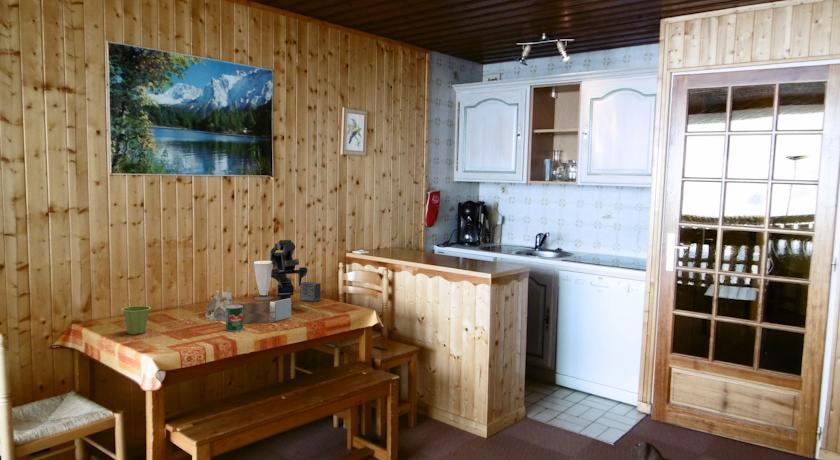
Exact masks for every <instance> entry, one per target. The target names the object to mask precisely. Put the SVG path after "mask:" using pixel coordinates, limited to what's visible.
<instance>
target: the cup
mask: <svg viewBox="0 0 840 460" xmlns="http://www.w3.org/2000/svg"><path fill="white" fill-rule="evenodd" d="M253 265H254V267H253V268H254V275H255V280H256V286H257V289H258V294H259V296H255V297H253V299H254V300H256V301H270V300H273V299H274V298H275V297H274V296H271V295H268V294H269V290H270V286H271V281H272V278H271V270H272V269H273V267H274V265H273V264H272V262H271V261H270V260H257V261H254V262H253Z"/></svg>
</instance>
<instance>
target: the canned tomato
mask: <svg viewBox="0 0 840 460" xmlns="http://www.w3.org/2000/svg"><path fill="white" fill-rule="evenodd" d="M226 330H227V331H226ZM239 330H240V331H243V330H244V324H243V305H239V304H233V305H228V306H226V320H225V331H226V332H238V331H239ZM240 331H239V332H240Z"/></svg>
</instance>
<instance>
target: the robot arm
mask: <svg viewBox="0 0 840 460" xmlns="http://www.w3.org/2000/svg"><path fill="white" fill-rule="evenodd" d="M273 246H274V247H273V248H272V249H271V250H270V253H269V261H271V262H272V264H273V267H275V268H272V270H271V279H274V280H275V281H276V282H277V286H276V290H275V295H276V296H277V297H278V300H277V301H279V300H284V299H289V298H291V296H294V290H295V286H294V285H293V284H292V280H291V279H292V278H290V277H288V276H287V275H291V274H292V275H293V274H295V275H296V274H297V278H298V281H297V282H298V287H300V284H301V283H302V279H303V278H304V277H306V276H307V273H308V268H307V267H306V266H300V267H299V268H298V269H296V266H298V265H300V259H299V258H294V257H293V255H294V253H295V251H296V245H295V243H294V242H293V241H292V240H291V239H279V240H278V242H277V243H274V245H273ZM276 251H281V252H276ZM293 258H294V259H293ZM291 299H292V298H291ZM291 307H293V304H291Z"/></svg>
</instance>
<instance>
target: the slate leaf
mask: <svg viewBox="0 0 840 460" xmlns="http://www.w3.org/2000/svg"><path fill="white" fill-rule="evenodd" d="M291 305H292V298H289V299H284V300H279V301H278V300H275V301H270V302H269V313H270V312H275V322H277V321H282V320H285V319H286V320H287V319H291V318H292V306H291Z"/></svg>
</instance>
